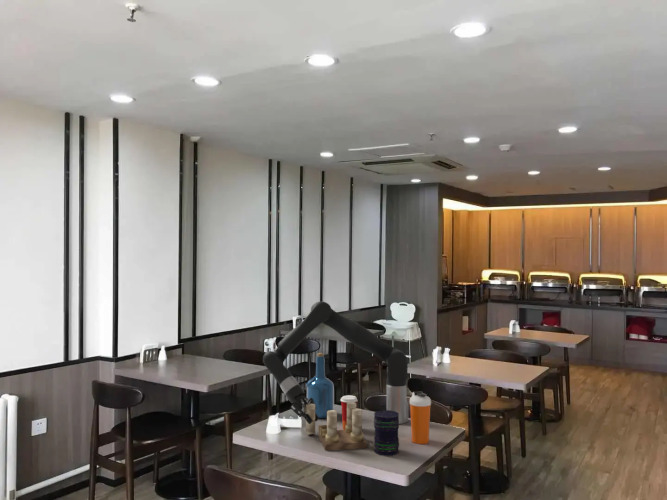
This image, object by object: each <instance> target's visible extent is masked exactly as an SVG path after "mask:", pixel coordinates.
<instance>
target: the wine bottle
mask: <svg viewBox="0 0 667 500" xmlns="http://www.w3.org/2000/svg"><path fill="white" fill-rule="evenodd" d="M315 359H316V360H315V365H316V366H315V375H314V376H313V377H312V378H310V379H308V381H307V382H306V384H305V386H306V397H307V398H308V399H310V398H313V401H314V403H315V405H316V408H317V409H316V410H315V412H316V414H317V415H318V417H319V419H327V411H329V410H335V386H334V385H335V384H334V382H333V381H332V380H330V379H329V378H327V376H326V372H325V368H326V367H325V363H326V361H325V360H326V359H325V356H324V353H322V352H318V353H317V355H316V357H315Z"/></svg>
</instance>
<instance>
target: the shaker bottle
mask: <svg viewBox="0 0 667 500" xmlns="http://www.w3.org/2000/svg"><path fill="white" fill-rule="evenodd" d="M427 395H428V394H427V393H423V391H412V395H411V396H410V398H409V402H408V405H409V407H410V409H409V411H410V428H411V429H410V431H411V432H410V433H411V442H412V443H414V444H418V445H425V444H426V445H427V444H428V443H429V442H430V424H431V423H430V422H431V420H430V419H431V405H432V399H431V398H430V397H429V396H427Z"/></svg>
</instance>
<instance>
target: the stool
mask: <svg viewBox="0 0 667 500" xmlns="http://www.w3.org/2000/svg"><path fill="white" fill-rule="evenodd" d="M318 439H319V441H320V443H321V445H322V447H323V449H324V450H325V451H326V452H327V451H339V450H340V451H341V450H343V451H344V450H354V449H367V448H368V441H367V440H366V439H365V437H364V432H363V410H362V408H357V409H356V403H354V402H349V403H347V425H346V426H345V430H344V429H338V411H337V410H335V409H334V410H329V411H327V418H326V424H320V425H318Z"/></svg>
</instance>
